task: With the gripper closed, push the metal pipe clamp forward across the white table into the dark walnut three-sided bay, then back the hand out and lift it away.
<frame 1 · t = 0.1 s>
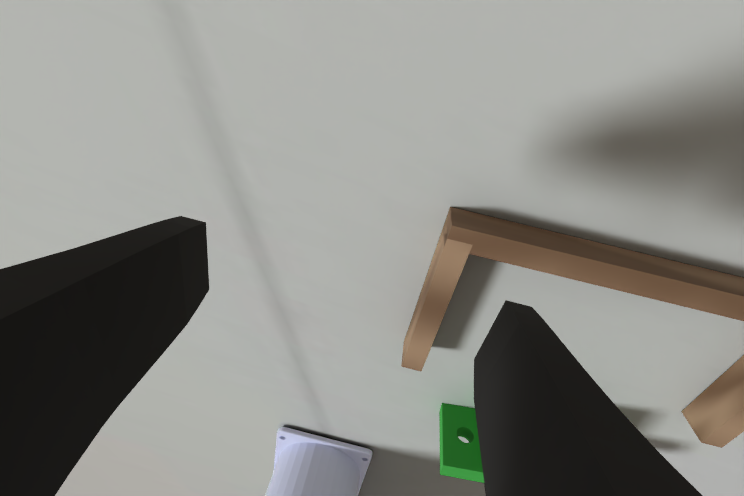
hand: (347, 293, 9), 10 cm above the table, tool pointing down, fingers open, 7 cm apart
pipe clamp: (525, 407, 25), on the table
walnut bay: (586, 328, 20), on the table
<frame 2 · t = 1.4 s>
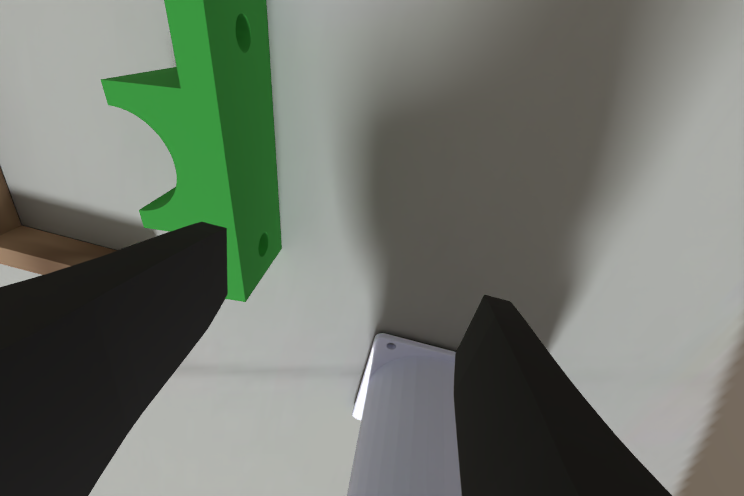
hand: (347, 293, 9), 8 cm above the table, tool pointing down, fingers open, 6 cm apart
pipe clamp: (240, 131, 16), on the table
walnut bay: (48, 88, 16), on the table
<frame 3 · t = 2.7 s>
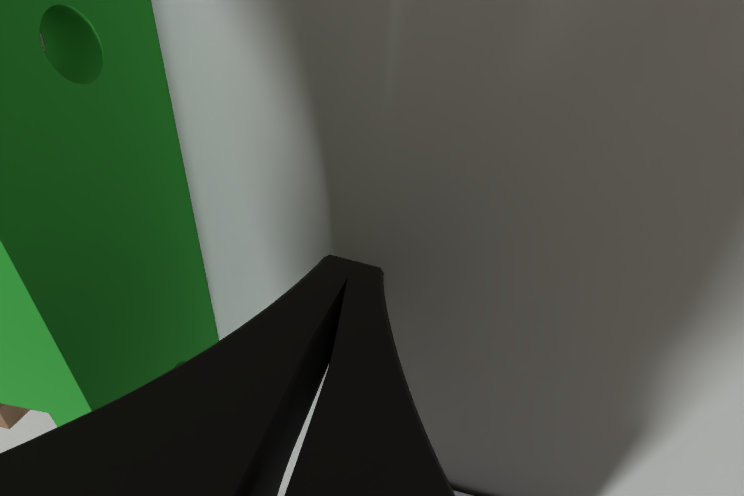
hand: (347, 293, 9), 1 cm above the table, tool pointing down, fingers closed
pipe clamp: (141, 199, 10), on the table
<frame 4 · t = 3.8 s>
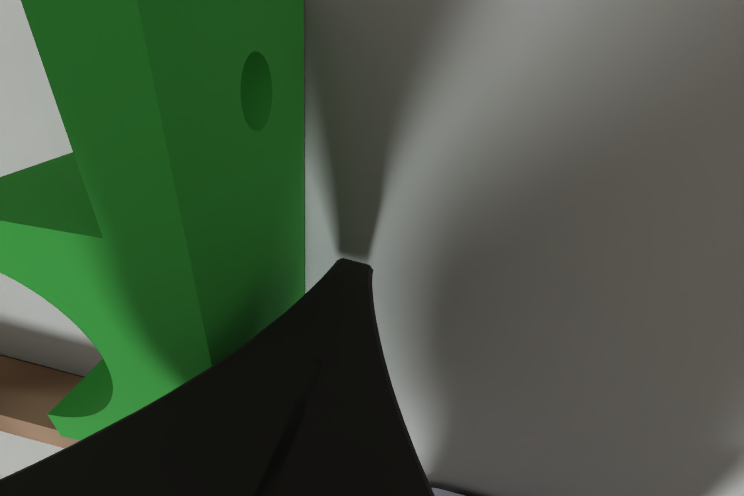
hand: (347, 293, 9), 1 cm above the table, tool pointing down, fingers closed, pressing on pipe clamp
pipe clamp: (244, 229, 10), on the table, touching gripper
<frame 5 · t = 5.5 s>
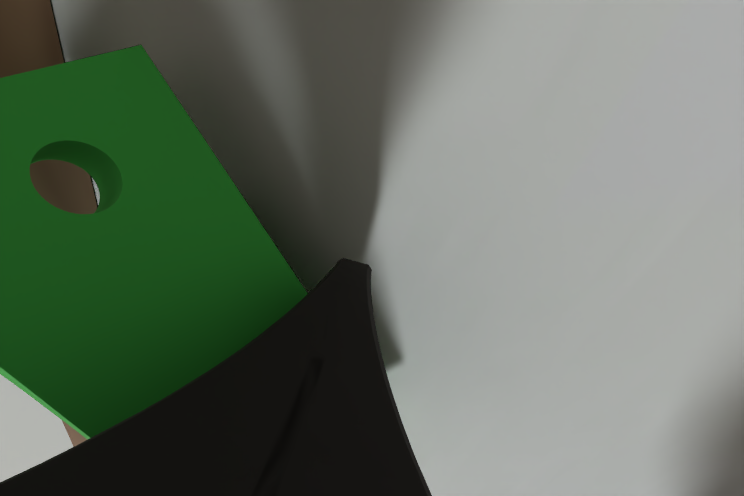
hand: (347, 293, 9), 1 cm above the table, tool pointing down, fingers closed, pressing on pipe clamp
pipe clamp: (262, 281, 10), on the table, touching gripper
walnut bay: (237, 241, 10), on the table
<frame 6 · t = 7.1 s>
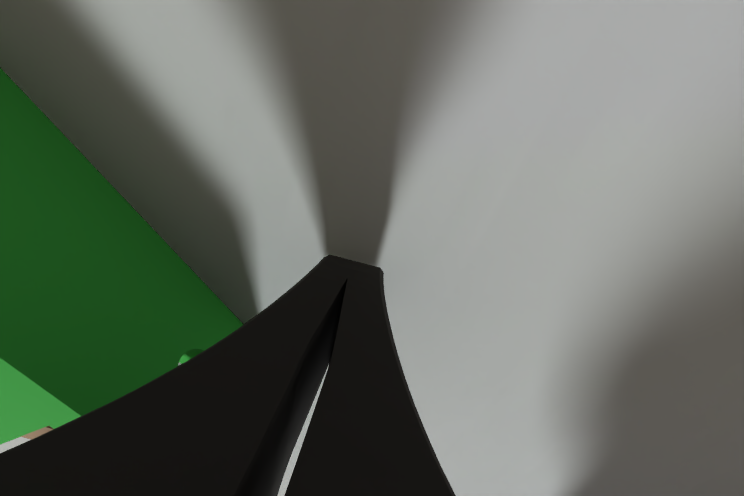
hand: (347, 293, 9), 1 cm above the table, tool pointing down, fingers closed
pipe clamp: (102, 225, 10), on the table
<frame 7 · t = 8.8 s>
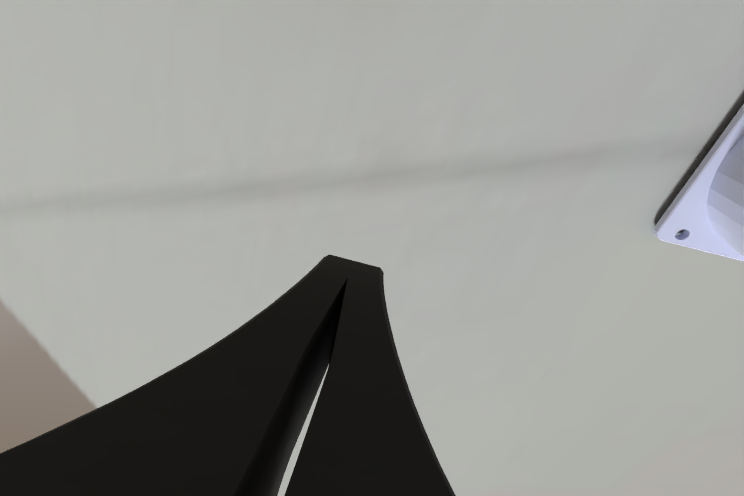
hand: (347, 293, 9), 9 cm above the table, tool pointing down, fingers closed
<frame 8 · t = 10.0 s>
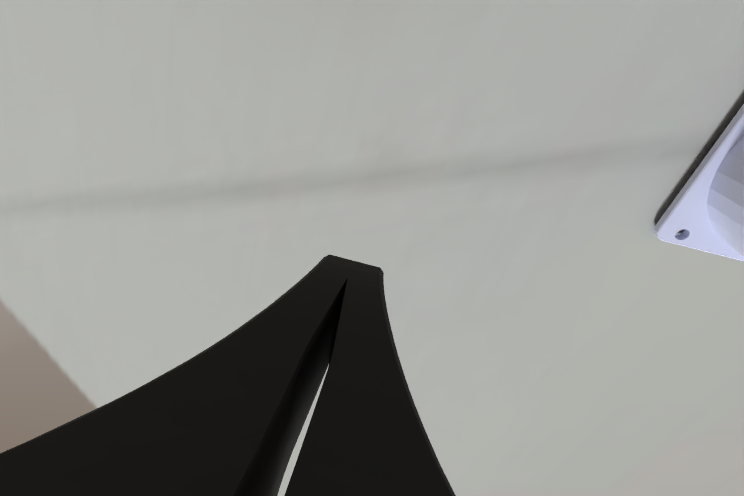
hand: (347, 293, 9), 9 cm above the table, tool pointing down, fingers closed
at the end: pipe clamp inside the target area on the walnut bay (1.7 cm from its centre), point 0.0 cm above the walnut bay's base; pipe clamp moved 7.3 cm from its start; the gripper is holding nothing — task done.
